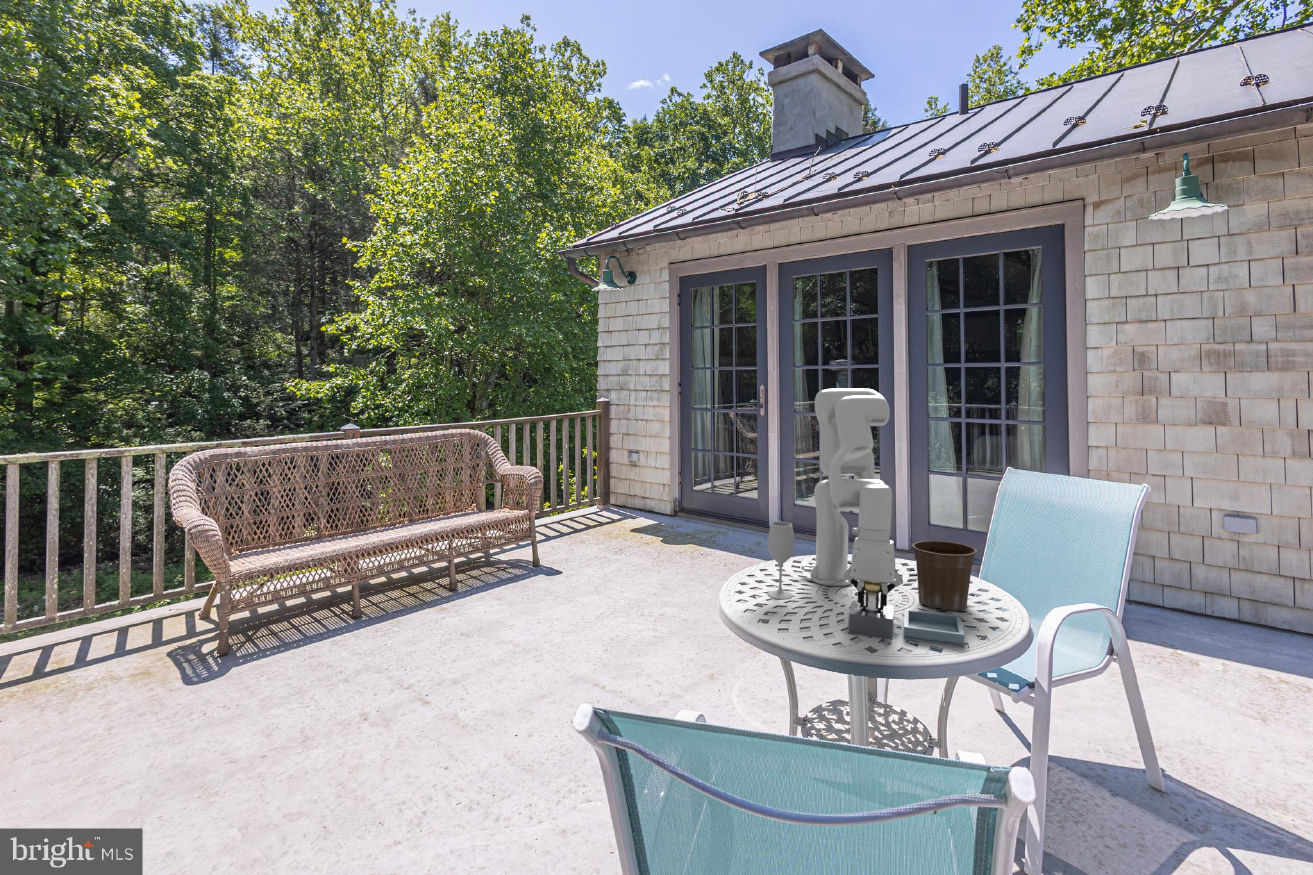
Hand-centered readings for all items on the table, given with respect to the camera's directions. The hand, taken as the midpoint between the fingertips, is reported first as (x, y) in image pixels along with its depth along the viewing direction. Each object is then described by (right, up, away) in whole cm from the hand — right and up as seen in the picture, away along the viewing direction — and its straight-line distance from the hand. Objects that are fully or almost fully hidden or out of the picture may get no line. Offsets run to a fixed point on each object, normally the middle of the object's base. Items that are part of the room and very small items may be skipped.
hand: (872, 606), depth 155 cm
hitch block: (0, -6, 0) cm, 6 cm away
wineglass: (-18, -4, +26) cm, 32 cm away
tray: (+14, -6, -2) cm, 15 cm away
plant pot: (+26, -5, +19) cm, 32 cm away
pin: (0, -6, 0) cm, 6 cm away
